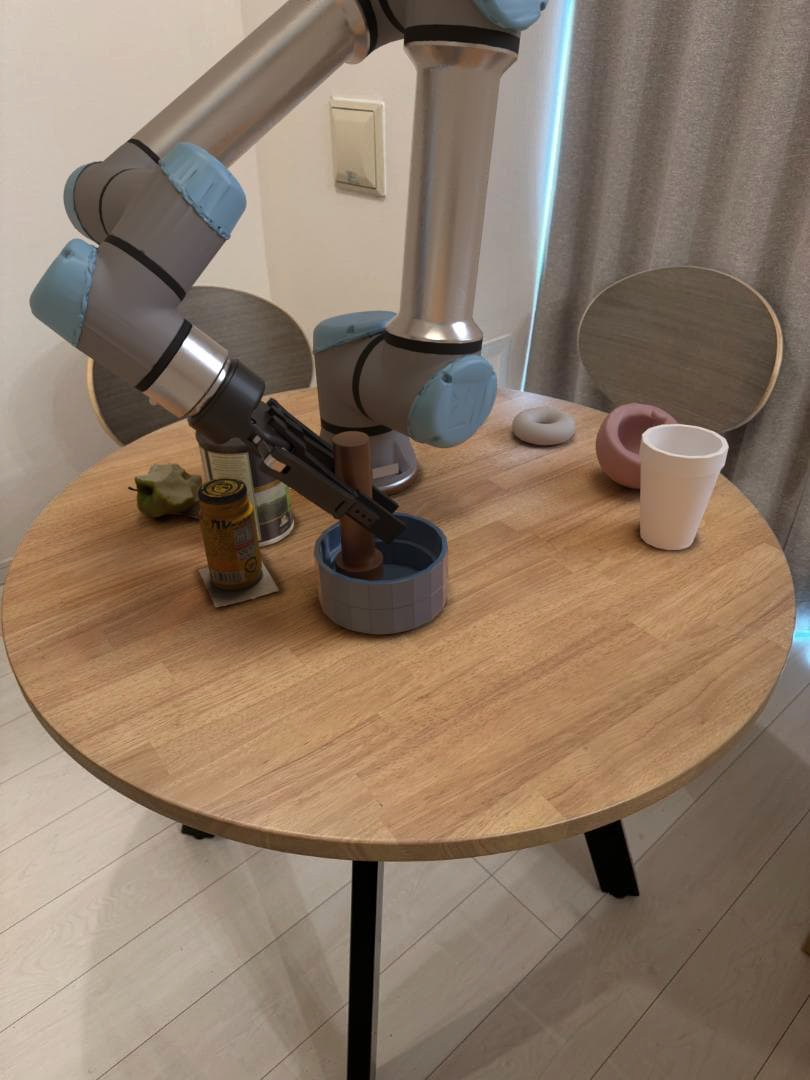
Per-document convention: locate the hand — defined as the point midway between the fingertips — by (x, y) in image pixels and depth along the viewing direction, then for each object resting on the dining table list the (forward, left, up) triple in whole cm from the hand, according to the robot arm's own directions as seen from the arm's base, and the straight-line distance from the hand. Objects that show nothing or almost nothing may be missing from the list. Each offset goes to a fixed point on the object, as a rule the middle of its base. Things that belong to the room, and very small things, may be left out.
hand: (393, 523), depth 78 cm
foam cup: (-10, +34, -9) cm, 36 cm away
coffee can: (-15, -18, -9) cm, 26 cm away
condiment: (-3, -18, -9) cm, 21 cm away
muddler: (+1, -4, -6) cm, 7 cm away
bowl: (+1, -1, -9) cm, 9 cm away
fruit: (-20, -30, -9) cm, 38 cm away
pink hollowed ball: (-24, +34, -9) cm, 43 cm away
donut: (-41, +24, -9) cm, 49 cm away
